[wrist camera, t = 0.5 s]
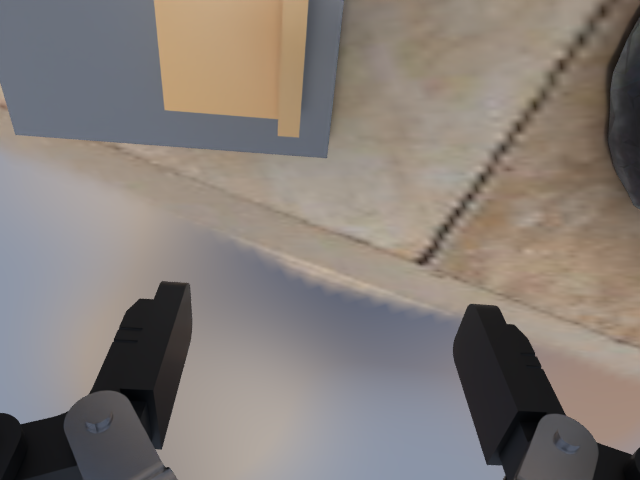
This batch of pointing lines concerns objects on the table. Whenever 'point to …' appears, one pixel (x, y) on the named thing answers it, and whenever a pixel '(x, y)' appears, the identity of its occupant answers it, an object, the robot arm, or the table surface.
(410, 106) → the table surface
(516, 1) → the table surface
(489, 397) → the robot arm
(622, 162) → the clay pot
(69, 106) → the socket plate
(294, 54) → the tan l-shaped block
